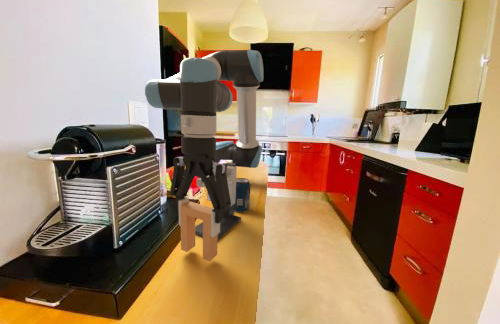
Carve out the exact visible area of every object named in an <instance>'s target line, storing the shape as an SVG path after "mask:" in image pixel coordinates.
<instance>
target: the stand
mask: <svg viewBox="0 0 500 324" xmlns="http://www.w3.org/2000/svg"><path fill="white" fill-rule="evenodd" d="M226 164H227V166H233V167H237V166H236V163H229V162H228V163H226ZM214 175H215V173H214ZM207 177H209V175H208V176H207ZM215 181H216V178H215ZM196 187H198V188H199V187H200V188H206V187H205V184H204V183H203V182H202V180H201V178H198V177H197V178H196ZM241 221H242V216H238V215H235V211H234V204H233V205H232V206H229V207H228V208H226V209H225V210H223V220H222V222H220V232H219V233H218V240H219V239H221V238H222V237H223V236H224V235H225V234H227V233H228V232H229V231H230V230H231V229H233V228H234V227H235V226H236V225H237V224H239V223H240V222H241ZM196 235H197V236H199V237H201V238H203V221H202V222H200V223H199V224H197V225H195V236H196Z"/></svg>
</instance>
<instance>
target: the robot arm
mask: <svg viewBox="0 0 500 324" xmlns="http://www.w3.org/2000/svg"><path fill="white" fill-rule="evenodd" d="M263 62H264V61H263V58H262V54H261V53H260V51H258V50H253V49H243V50H242V49H239V50H238V49H237V50H236V49H233V50H230V49H229V50H226V49H224V50H218V51H215V52H213V53H210V54H208V55H206V56H203V57H202V58H201V57H187V58H184V59H183V60H182V61H181V62H180V66H179V67H180V71H179V72H178V73H177V74H174V75H173V76H169V77H168V78H166V79H160V78H157V79H150V80H148V81H147V83H146V85H145V87H144V95H145V97H146V101H147V103H148V104H149V106H151V107H153V108H155V109H163V110H180V123H181V124H180V130H181V131H180V132H181V134H182V135H183V136H181V138H180V140H181V141H180V144H181V145H180V146H181V153H182V154H183V156H177V157H173V159H172V160H173V161H172V162H173V171H172V179H171V184H170V191H169V193H170V194H169V195H170V196H171V197H172V196H174V197H175V200H176V209H177V212H178V226H180V227H181V221H180V205H182V204H184V203H186V202H189V201H190V198H189V197H187V196H188V195H189V194H188V192H189V190H190V189H191V188H190V187H191V186H192V184H193V181H194V179H195V177H197V179H198V178H201V180H202V182H203V183H204V184H205V187H204V188H206V193H207V192H208V195H209V197H210V200H211V201H210V202H211V205H212V208H213V209H212V210H211V230H210V237H214V236H216V235H217V234H218V233H219V232H220V222H222V220H223V210H225V209H226V208H228V207H229V206H231V200H230V194H229V188H228V182H227V176H226V171H227V164H226V163H223V164H220V163H219V161H220V160H233V163H236V167H239V168H240V167H241V168H249V169H252V168H253V169H256V168H258V167H259V165H260V160H261V156H262V150H263V147H262V145H260V141H258V140H257V90H258V88H260V86H261V84H260V83H261V82H264V63H263ZM223 81H224V82H225V81H226V82H232V87H233V88H234V89H235V90H236V103H237V106H236V107H237V128H238V129H237V130H238V140H236V141H235V143H234V140H226V141H217V138H216V137H215V136H216V135H217V112H218V113H221V112H222V113H223V112H225V111H226V110H228V109H229V108H230V107H231V105H232V104H233V99H234V97H233V92H232V91H231V89H230V88H229V87H228V86H227V85H226V84H225V83H224V82H223ZM213 168H214V169H215V170H214V172H215V175H214V172H213ZM208 175H209V177H207V176H208ZM215 178H216V181H215Z"/></svg>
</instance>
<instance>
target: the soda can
mask: <svg viewBox="0 0 500 324" xmlns="http://www.w3.org/2000/svg"><path fill="white" fill-rule="evenodd" d="M250 200H251V183H250V179H248V178H245V177H244V178H243V177H240V178H239V177H238V178H237V177H236V198H235V204H234V212H236V213H245V212H247V211H248V210H249V208H250V204H251V203H250Z"/></svg>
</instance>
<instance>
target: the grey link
mask: <svg viewBox="0 0 500 324" xmlns="http://www.w3.org/2000/svg"><path fill="white" fill-rule="evenodd" d="M214 170H215V169H214V168H213V172H214ZM237 172H238V171H237V166H236V167H233V166H227V171H226V176H227V182H228V188H229V194H230V200H231V206H232V205H233V204H235V198H236V179H237ZM214 173H215V172H214ZM206 196H207V197H206V198H207V199H206V200H207V201H208V202H211V200H210V197H209V195H208V192H207V191H206Z"/></svg>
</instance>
